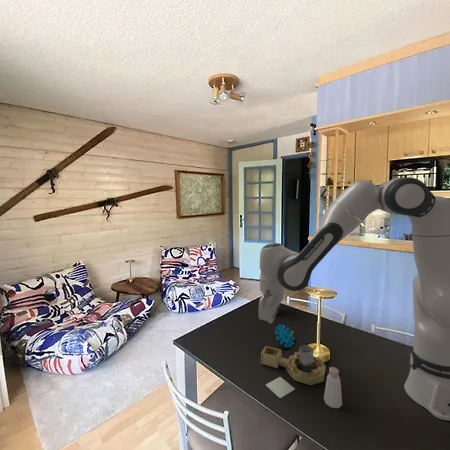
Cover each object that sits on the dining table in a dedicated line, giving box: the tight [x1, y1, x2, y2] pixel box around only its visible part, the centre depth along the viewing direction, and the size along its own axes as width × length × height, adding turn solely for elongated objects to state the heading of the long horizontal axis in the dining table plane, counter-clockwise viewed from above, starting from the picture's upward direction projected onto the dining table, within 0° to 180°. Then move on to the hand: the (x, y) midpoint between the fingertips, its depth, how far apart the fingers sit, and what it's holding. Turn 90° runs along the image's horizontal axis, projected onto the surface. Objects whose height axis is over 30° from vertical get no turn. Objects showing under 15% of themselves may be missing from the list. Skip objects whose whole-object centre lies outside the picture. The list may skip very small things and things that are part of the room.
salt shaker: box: [323, 366, 343, 409], centre depth 80 cm, size 5×5×11 cm
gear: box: [274, 323, 295, 349], centre depth 113 cm, size 11×6×10 cm
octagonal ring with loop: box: [260, 345, 327, 386], centre depth 96 cm, size 23×13×4 cm, turn 63°
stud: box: [297, 344, 314, 373], centre depth 93 cm, size 7×7×10 cm
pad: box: [265, 376, 296, 399], centre depth 87 cm, size 7×7×1 cm
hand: (271, 321), depth 98 cm, fingers closed
